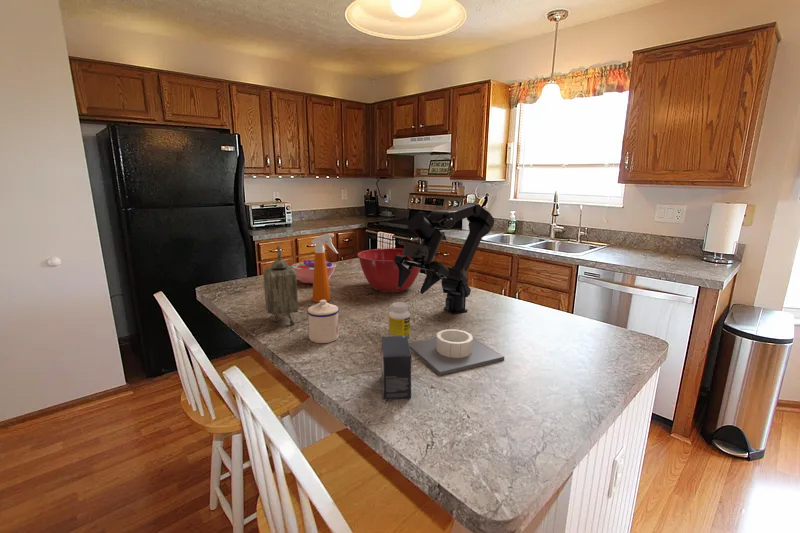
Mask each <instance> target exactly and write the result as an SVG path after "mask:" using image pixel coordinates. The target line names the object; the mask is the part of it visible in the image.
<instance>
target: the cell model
mask: <svg viewBox="0 0 800 533" xmlns="http://www.w3.org/2000/svg"><path fill="white" fill-rule="evenodd" d="M314 261H315V260H311V259H308V260H306V259H304V260H303V261H302V262H296V263H293V264H291V265H292V266H293V268H294V270H295V272H296V279H298V281H300V282H301V283H303V284H311V285H313V277H314ZM326 266H327V274H328V280H330V278H331V276H332V275H333V273H334V272H335V269H336V267H337V263H335V262H331V261H328V260H326Z"/></svg>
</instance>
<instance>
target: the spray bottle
mask: <svg viewBox="0 0 800 533" xmlns="http://www.w3.org/2000/svg"><path fill="white" fill-rule="evenodd" d="M334 237H335V234H334V233H330V232H329V233H324V234H321V235H319V236H318V237H317V236H316V237H315V238H314V239H312V240H311V242H310V243H312V244H314V245H315V247H314V260H313V261H314V277H313V284H312V296H311V301H312V302H314V303H317V304H318V303H319V301H320V300H326V303H328V302H329V301H331V291H330V283H329V279H328V274H327V266H326V261H327V259H326V250H325V249H326V248H325V247H324V244H326V245H327V247H329V248H330V250H332V251H333V252H334V253H335V254H339V252H338V251H337V249H336V247H335V246H334V245H333V242H332V238H334Z"/></svg>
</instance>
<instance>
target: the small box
mask: <svg viewBox="0 0 800 533" xmlns="http://www.w3.org/2000/svg"><path fill="white" fill-rule="evenodd" d="M409 343H410V342H409V341H408V338H407V336H389V335H388V336H381V349H380V353H381V354H380V356H381V357H380V358H381V359H380V361H381V362H380V363H381V365H380V367H381V385H382V396H383V400H384V401H385V399H387V400H407V399H408V400H411V399H412V358H413V355H412V351H411V350H410V347H409Z"/></svg>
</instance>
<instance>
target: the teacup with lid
mask: <svg viewBox="0 0 800 533" xmlns="http://www.w3.org/2000/svg"><path fill="white" fill-rule="evenodd" d="M339 312H340V309H339V307H338V305H335V304H331V303H329V302H326V300H320V301H319V303H318V302H317V303H316V304H313V305H311V306H309V307H308V308H307V315H308V316H307V317H308V318H307V319H308V337H309V340H310V341H311V342H313V343H316V344H327V343H328V344H329V343H332V342H334V341H336V340H338V339H339V336H340V335H339Z"/></svg>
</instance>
